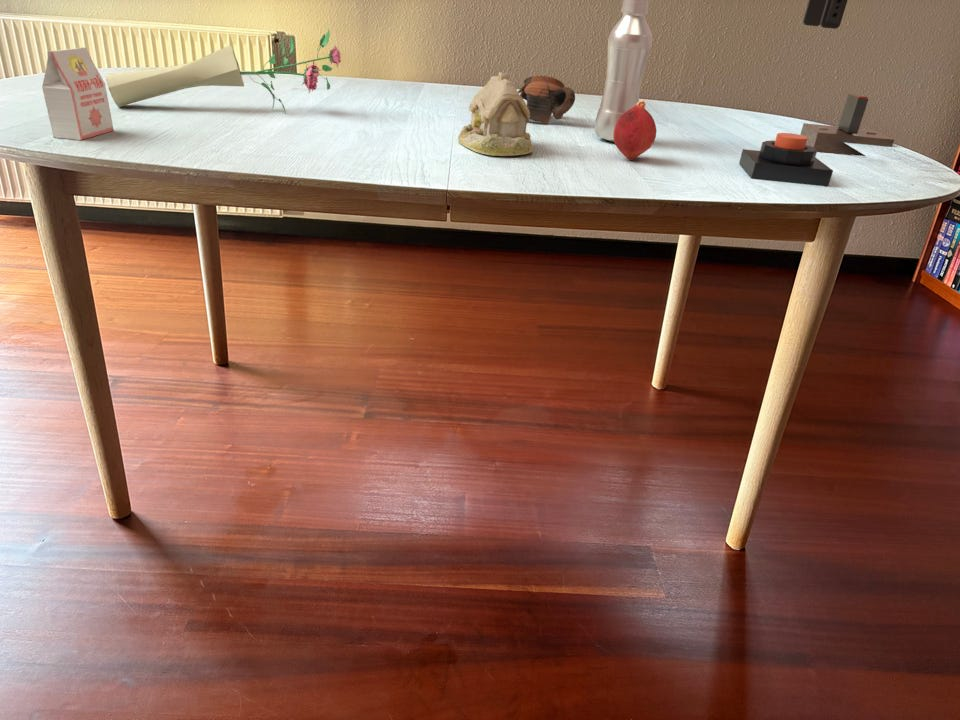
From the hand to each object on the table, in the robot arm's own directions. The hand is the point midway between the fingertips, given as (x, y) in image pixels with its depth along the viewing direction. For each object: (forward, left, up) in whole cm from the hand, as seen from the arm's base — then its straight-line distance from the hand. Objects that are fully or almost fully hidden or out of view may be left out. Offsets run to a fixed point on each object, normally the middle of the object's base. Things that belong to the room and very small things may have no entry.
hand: (819, 26), depth 88 cm
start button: (0, +2, -15) cm, 15 cm away
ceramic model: (+40, +2, -19) cm, 44 cm away
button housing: (0, +2, -19) cm, 19 cm away
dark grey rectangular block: (-16, -24, -16) cm, 33 cm away
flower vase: (+84, -6, -19) cm, 87 cm away
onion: (+21, +2, -19) cm, 28 cm away
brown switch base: (-16, -24, -19) cm, 34 cm away
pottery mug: (+35, -24, -19) cm, 47 cm away
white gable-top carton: (+92, +20, -19) cm, 96 cm away
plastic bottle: (+23, -11, -19) cm, 32 cm away
